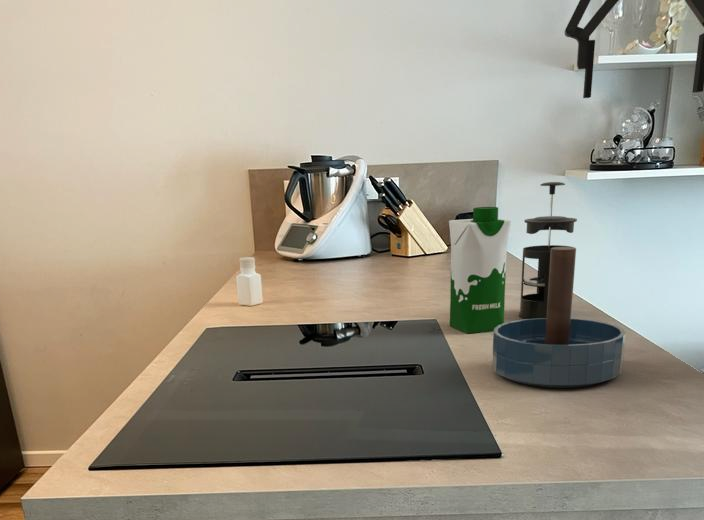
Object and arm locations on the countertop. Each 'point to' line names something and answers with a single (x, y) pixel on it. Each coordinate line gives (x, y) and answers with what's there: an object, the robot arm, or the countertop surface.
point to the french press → (541, 260)
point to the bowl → (558, 353)
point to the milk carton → (478, 271)
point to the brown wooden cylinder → (560, 295)
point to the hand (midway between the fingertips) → (641, 95)
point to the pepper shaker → (249, 283)
